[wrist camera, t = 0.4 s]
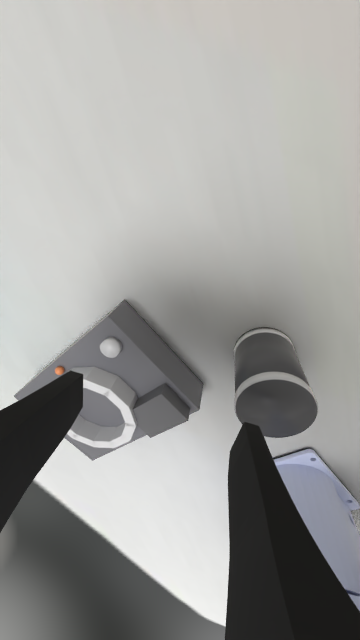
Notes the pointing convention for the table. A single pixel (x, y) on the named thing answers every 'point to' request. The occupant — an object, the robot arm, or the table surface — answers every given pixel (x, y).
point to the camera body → (123, 383)
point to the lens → (271, 384)
